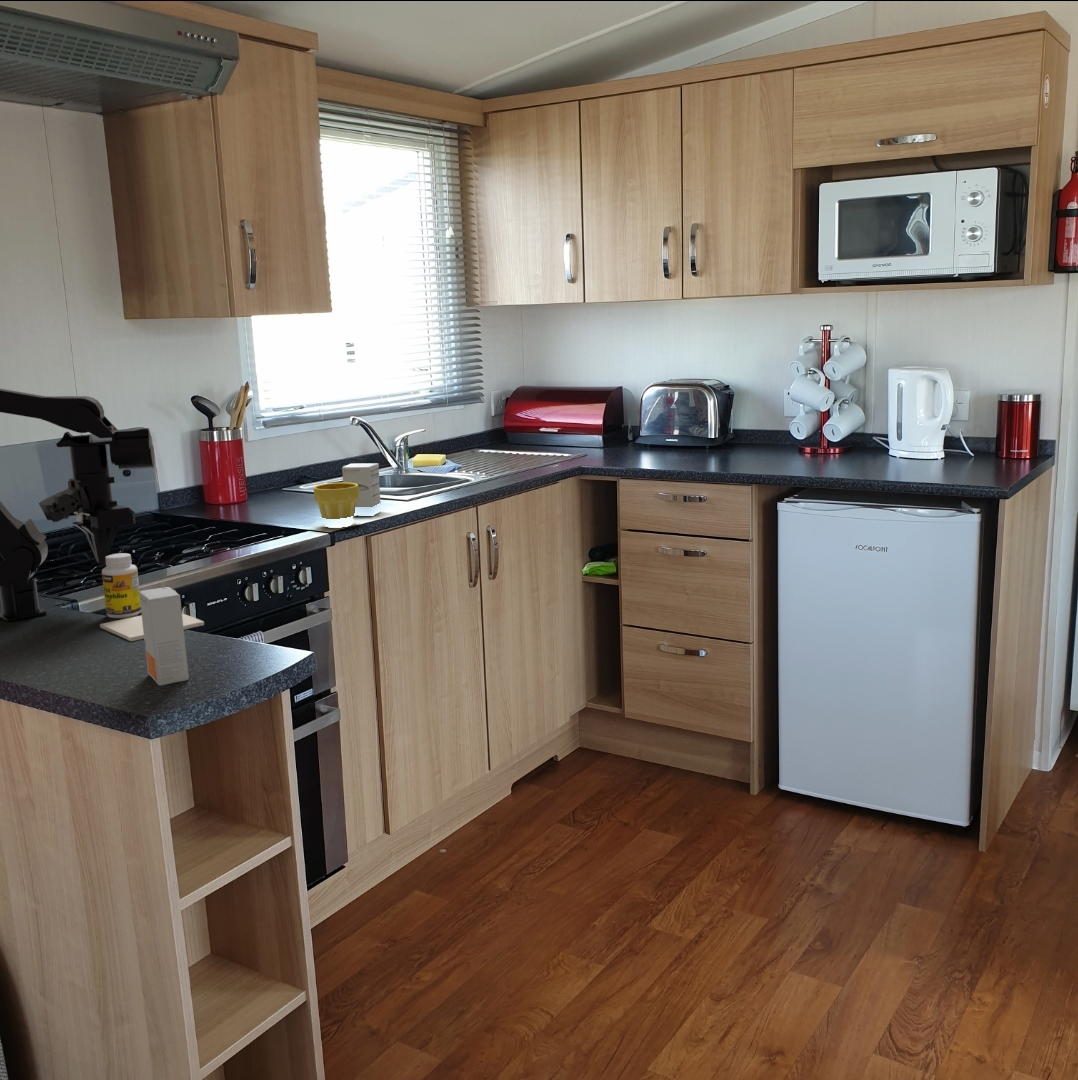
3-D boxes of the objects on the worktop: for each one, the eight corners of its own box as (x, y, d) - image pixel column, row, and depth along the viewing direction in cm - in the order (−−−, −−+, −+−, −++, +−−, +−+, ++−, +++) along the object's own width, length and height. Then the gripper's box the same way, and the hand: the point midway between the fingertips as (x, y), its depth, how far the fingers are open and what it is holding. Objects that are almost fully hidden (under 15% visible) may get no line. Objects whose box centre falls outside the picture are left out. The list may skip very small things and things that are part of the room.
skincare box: (147, 675, 152) (137, 590, 149) (178, 669, 154) (170, 585, 151) (157, 686, 146) (148, 599, 144) (190, 680, 149) (181, 594, 146)
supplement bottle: (100, 619, 183) (93, 559, 181) (117, 610, 188) (111, 552, 186) (131, 619, 182) (124, 558, 180) (148, 610, 187) (141, 551, 185)
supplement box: (344, 517, 273) (340, 466, 271) (354, 512, 280) (351, 462, 278) (372, 517, 272) (369, 466, 270) (382, 512, 279) (379, 462, 277)
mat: (100, 627, 177) (100, 624, 177) (171, 612, 185) (171, 609, 185) (131, 641, 169) (130, 637, 169) (204, 625, 177) (203, 621, 177)
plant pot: (347, 531, 255) (344, 489, 253) (308, 529, 258) (305, 488, 256) (368, 522, 264) (365, 482, 262) (330, 521, 268) (327, 481, 266)
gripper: (22, 473, 187) (33, 563, 190) (62, 482, 174) (74, 578, 177) (88, 466, 195) (98, 552, 198) (131, 473, 181) (141, 566, 184)
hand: (101, 562), depth 189 cm, fingers closed
